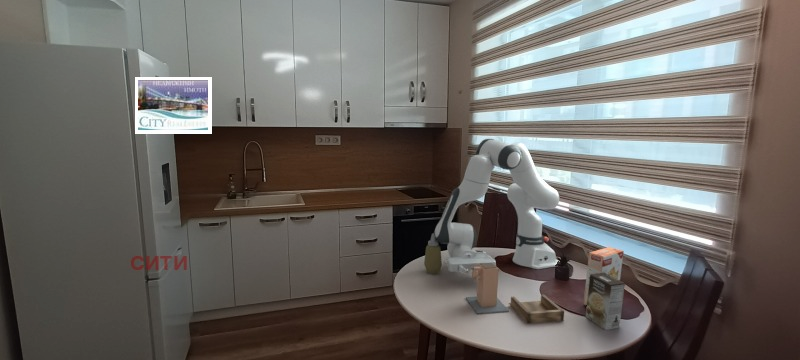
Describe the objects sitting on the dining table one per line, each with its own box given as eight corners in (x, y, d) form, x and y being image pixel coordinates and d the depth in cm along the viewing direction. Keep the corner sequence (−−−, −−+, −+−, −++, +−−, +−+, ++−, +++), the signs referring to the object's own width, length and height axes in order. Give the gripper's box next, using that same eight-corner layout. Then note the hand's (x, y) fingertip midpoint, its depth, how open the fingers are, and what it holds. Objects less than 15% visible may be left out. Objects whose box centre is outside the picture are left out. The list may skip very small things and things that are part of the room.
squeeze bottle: (440, 275, 162) (441, 236, 159) (422, 274, 163) (423, 235, 161) (442, 269, 169) (443, 231, 167) (425, 268, 171) (425, 230, 169)
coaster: (494, 296, 143) (495, 295, 143) (508, 311, 131) (509, 310, 131) (465, 298, 141) (465, 297, 141) (477, 314, 129) (477, 312, 129)
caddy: (540, 301, 140) (541, 292, 140) (563, 321, 126) (564, 311, 126) (508, 303, 138) (508, 294, 137) (527, 324, 124) (528, 313, 123)
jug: (490, 298, 140) (492, 262, 138) (496, 305, 134) (498, 267, 132) (468, 300, 138) (470, 263, 136) (474, 307, 133) (476, 269, 131)
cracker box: (598, 311, 133) (604, 256, 130) (582, 304, 138) (587, 251, 135) (618, 302, 140) (624, 250, 137) (603, 296, 145) (608, 245, 142)
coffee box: (584, 316, 129) (588, 273, 127) (598, 314, 131) (603, 271, 128) (605, 330, 120) (610, 284, 118) (620, 327, 122) (626, 282, 120)
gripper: (443, 253, 156) (453, 265, 143) (487, 250, 160) (502, 262, 146) (442, 267, 157) (452, 280, 144) (487, 264, 161) (501, 277, 147)
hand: (478, 271), depth 145 cm, fingers open, 8 cm apart
